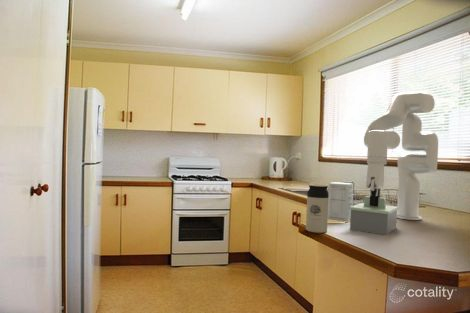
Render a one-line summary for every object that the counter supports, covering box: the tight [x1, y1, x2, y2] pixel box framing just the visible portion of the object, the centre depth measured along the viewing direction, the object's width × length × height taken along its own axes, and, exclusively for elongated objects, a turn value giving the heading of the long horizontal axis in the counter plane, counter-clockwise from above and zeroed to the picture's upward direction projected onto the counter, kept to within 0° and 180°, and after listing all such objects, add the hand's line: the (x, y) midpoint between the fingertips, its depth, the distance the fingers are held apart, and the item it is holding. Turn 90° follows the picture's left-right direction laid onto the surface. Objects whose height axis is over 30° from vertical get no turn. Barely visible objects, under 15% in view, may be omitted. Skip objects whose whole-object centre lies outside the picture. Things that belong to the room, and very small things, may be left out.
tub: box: [349, 210, 398, 236], centre depth 154 cm, size 18×14×8 cm
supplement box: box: [327, 181, 354, 222], centre depth 174 cm, size 10×9×17 cm
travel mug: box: [305, 182, 329, 234], centre depth 144 cm, size 8×8×18 cm
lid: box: [349, 195, 399, 214], centre depth 154 cm, size 19×15×6 cm
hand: (374, 205), depth 154 cm, fingers closed on lid, 2 cm apart
